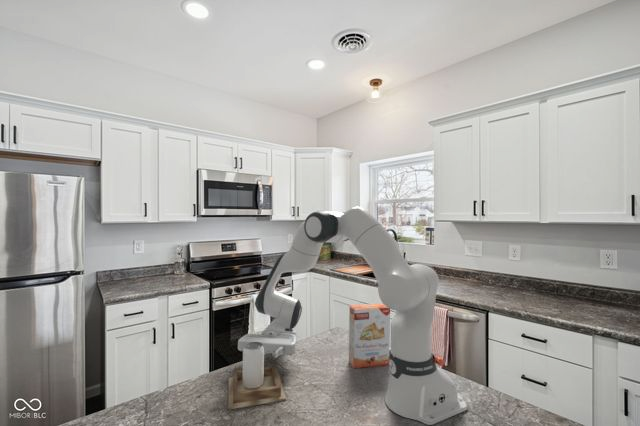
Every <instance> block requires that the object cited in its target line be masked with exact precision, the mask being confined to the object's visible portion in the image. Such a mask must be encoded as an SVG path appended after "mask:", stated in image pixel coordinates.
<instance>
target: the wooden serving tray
mask: <svg viewBox="0 0 640 426" xmlns="http://www.w3.org/2000/svg"><path fill="white" fill-rule="evenodd" d="M232 372H233V374H232V376H230V377H228V398H227V400H228V402H227V410H233V409H234V410H235V409H240V408H247V407H253V406H258V405H259V406H260V405H263V404H270V403H277V402H283V401H286V400H287V397H286V394H285V391H284V390H285V389H284V386H283V384H282V380H281V376H280V373H279V371H278V370H277V368H276V366H275V365H272V366H264V379H263V384H262V385H261V386H260V387H258V388H256V389H247V388H245V387H244V386H243V369H239V370H234V371H232Z"/></svg>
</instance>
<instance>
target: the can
mask: <svg viewBox="0 0 640 426" xmlns="http://www.w3.org/2000/svg"><path fill="white" fill-rule="evenodd" d="M244 347H245V348H244V350H243V351H242V370H243V386H244V387H245V388H247V389H256V388H258V387H260V386H261V385H262V384H263V379H264V367H265V366H264V365H265V353H264V348H263V344H262V343H260V342H250V343H247V344H246V345H245V346H244Z"/></svg>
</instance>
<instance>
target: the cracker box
mask: <svg viewBox="0 0 640 426" xmlns="http://www.w3.org/2000/svg"><path fill="white" fill-rule="evenodd" d="M348 316H349V317H348V319H349V321H348V323H349V324H348V327H349V328H348V362H349V364H350V365H351V366H352V368H353V369H359V368H368V367H379V366H388V365H389V351H390V349H391V309H390V308H388V307H386V306H385V305H384V304H383V303H372V304H371V303H370V304H367V303H366V304H354V305H353V304H351V305H349V315H348Z"/></svg>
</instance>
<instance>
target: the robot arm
mask: <svg viewBox="0 0 640 426" xmlns="http://www.w3.org/2000/svg"><path fill="white" fill-rule="evenodd" d="M347 241H350V243H351V244H352V245H353V246H354V248H355V249H356V250H357V251H358V253H359V254H360V255H361V256H362V258H363V259H364V260H365V261H366V263H367V264H368V266H369V267H370V269H371V271H372V273H373V275H374V278H375V279H376V282H377V285H378V286H377V294H378V296H379V299H380V301H381V302H382V303H381V304H384V305H385V306H386V307H388V308H390V310H393V311H394V316H393V317H392V320H391V322H390V349H389V366H388V369H389V370H388V371H389V378H388V385H387V390H386V393H385V397H384V402H385V404H386V406H387V407H388V408H389V409H390V411H392V412H394V414H396V415H399V416H400V417H403V418H406V419H411V420H415V421H418V422H421V423H423V424H425V425H428V426H432V425H436V424H437V423H439V422H442V421H444V420H446V419H449V418H451V417H453V416H456V415H458V414H460V413H463V412H466V411H467V410H468V405H467V403H466V401H465V400H464V398H463V397H462V396H461V395H460V394H459V393H458V390H457V385H456V384H455V382H454V381H453V378H451V377H450V376H449V375H448V374H446V373H445V372H444V371H442V369H440V368H439V367H443V366H444V364H445V360H444V359H443V358H441V357H440V356H438V355H437V356H436V355H435V354H434V353H432V326H433V319H434V318H433V317H434V312H435V308H436V307H435V306H436V300H437V299H436V298H437V292H438V289H439V285H440V279H439V276H438V274H437V271H435V269H434V268H432V267H430V266H429V265H424V264H421V263H413V264H409V263H408V262H407V261H406V259H405V258H404V256H403V254H402V252H401V250H400V245H399V243H398V241H397V240H396V239H395V238H394V237H393V236H392V235H391V233H390V232H389V231H388V230H387V229H386V228H385V227H384V226H383V224H381V222H379V220H378V219H377V218H376V217H374V216H373V215H372V214H371V213H370V212H369V211H367V210H366V209H365V208H363V207H361V206H354V207H351V208H349V209H347V210H346V211H345V212H343V211H341V212H340V211H336V210H317V211H314V212H312V213H310V214H308V215H307V217H306V218H305V220H304V221H303V222H301V224H300V225H299V227H298V228H297V230H296V233H295V235H294V238H293V240H292V243H291V246H290V248H289V250H288V251H287V252H285V253H281V255H280V256H279V257H278V258H277V260H276V261H275V263H274V265H273V266H272V268H271V270H270V272H269V274H268V276H267V278H266V280H265V282H264V283H263V286H262V288H261V289H260V291H259V293H258V294H257V295H256V297H255V301H254V306H255V309H256V310H257V312H258V313H260V314H263V315H266V316H270V317H272V318H274V319H273V320H272V321H271V322H270V324H268V325H267V326H266V327H265V328H264V329H263V330H262V332H261V333H247V334H245V335H243V336H242V337H240V338H239V339H238V341H237V350H238V351H240V352H243V350H244V348H245V347H244V346H245V345H246V344H247V343H250V342H260V343H262V344H263V348H264V354H272V355H271V356H272V358H273V359H278V357H279V356H282V355H285V356H293V355H296V353H297V345H298V344H297V336H298V335H297V331H296V330H295V329H294V328H295V327H296V326H297V324H298V322H299V320H300V319H301V316H302V312H303V307H302V303H301V301H300V300H299V299H297V298H296V297H293V296H290V295H287V294H285V293H283V292H281V291H277V289H276V288H275V287H276V286H277V284H278V282H279V280H280V278H281V276H282V274H285V273H303V272H307V271H309V270H311V269H313V268H314V266H316V264H317V263H318V260H319V257H320V254H321V250H322V247H323V245H324V243H331V244H333V243H335V244H336V243H340V242H347ZM436 364H437V365H438V366H439V367H438V366H437V365H436Z"/></svg>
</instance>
